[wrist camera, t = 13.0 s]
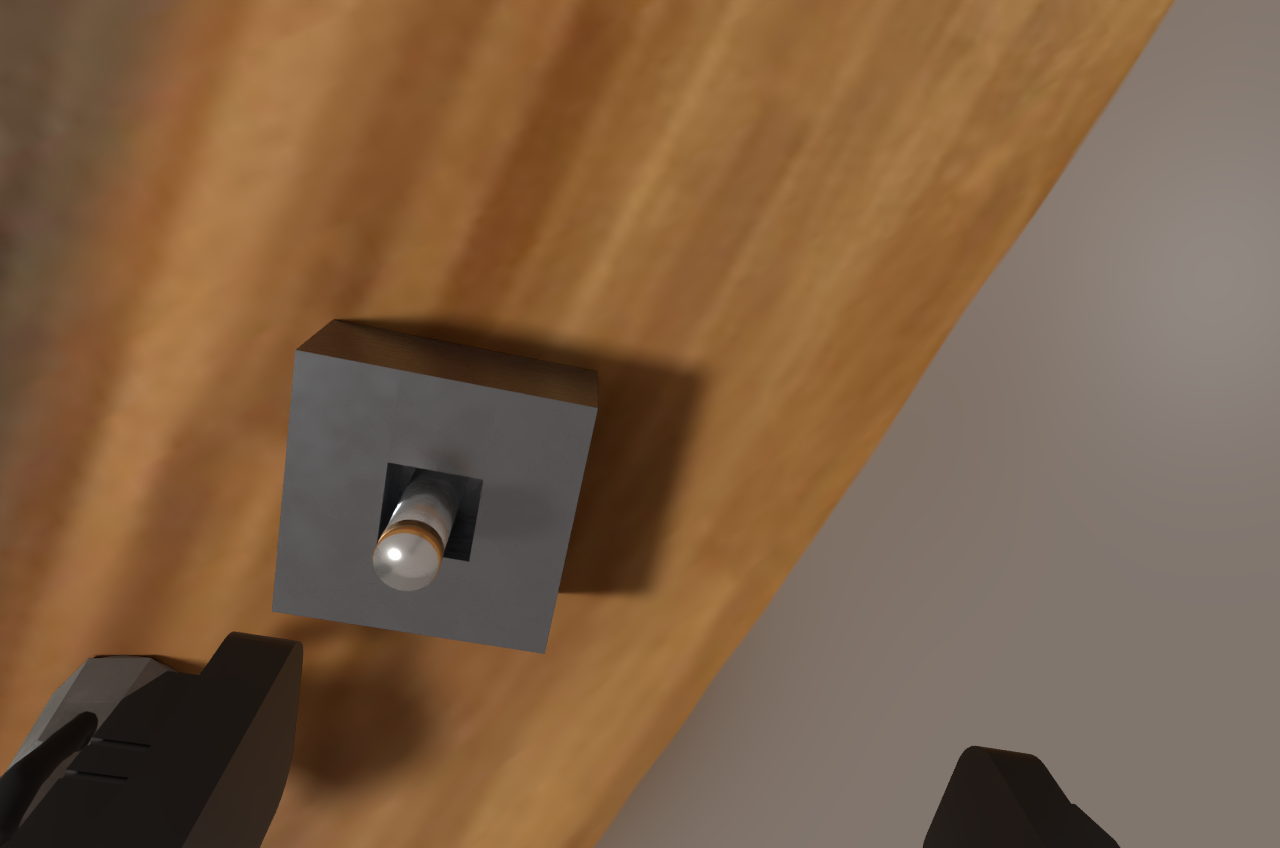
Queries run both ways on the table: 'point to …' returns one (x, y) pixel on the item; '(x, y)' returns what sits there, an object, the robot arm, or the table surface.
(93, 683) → the coffeepot
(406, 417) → the bore block
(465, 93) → the table surface
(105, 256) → the table surface
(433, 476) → the cylinder
